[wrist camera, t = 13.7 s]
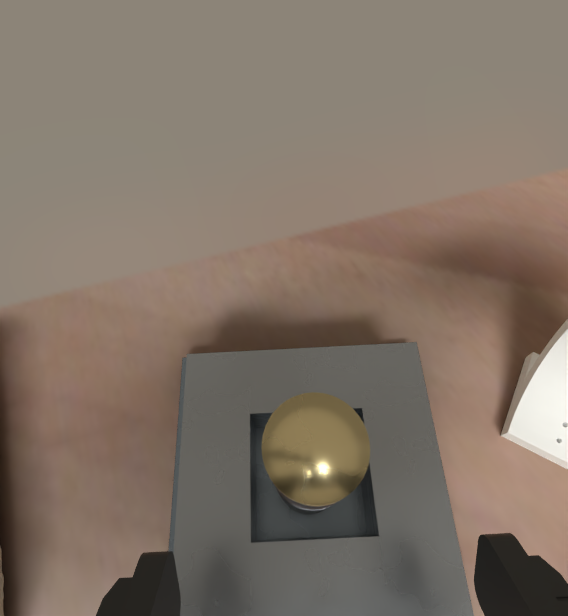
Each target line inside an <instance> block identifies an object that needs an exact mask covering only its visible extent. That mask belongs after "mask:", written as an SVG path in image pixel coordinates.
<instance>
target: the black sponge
mask: <svg viewBox="0 0 568 616" xmlns="http://www.w3.org/2000/svg"><path fill="white" fill-rule="evenodd" d="M1 556H2V550H1V547H0V616H4V614H3V599H4V593H3V587H4V577H3V574H2V559H1Z"/></svg>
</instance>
